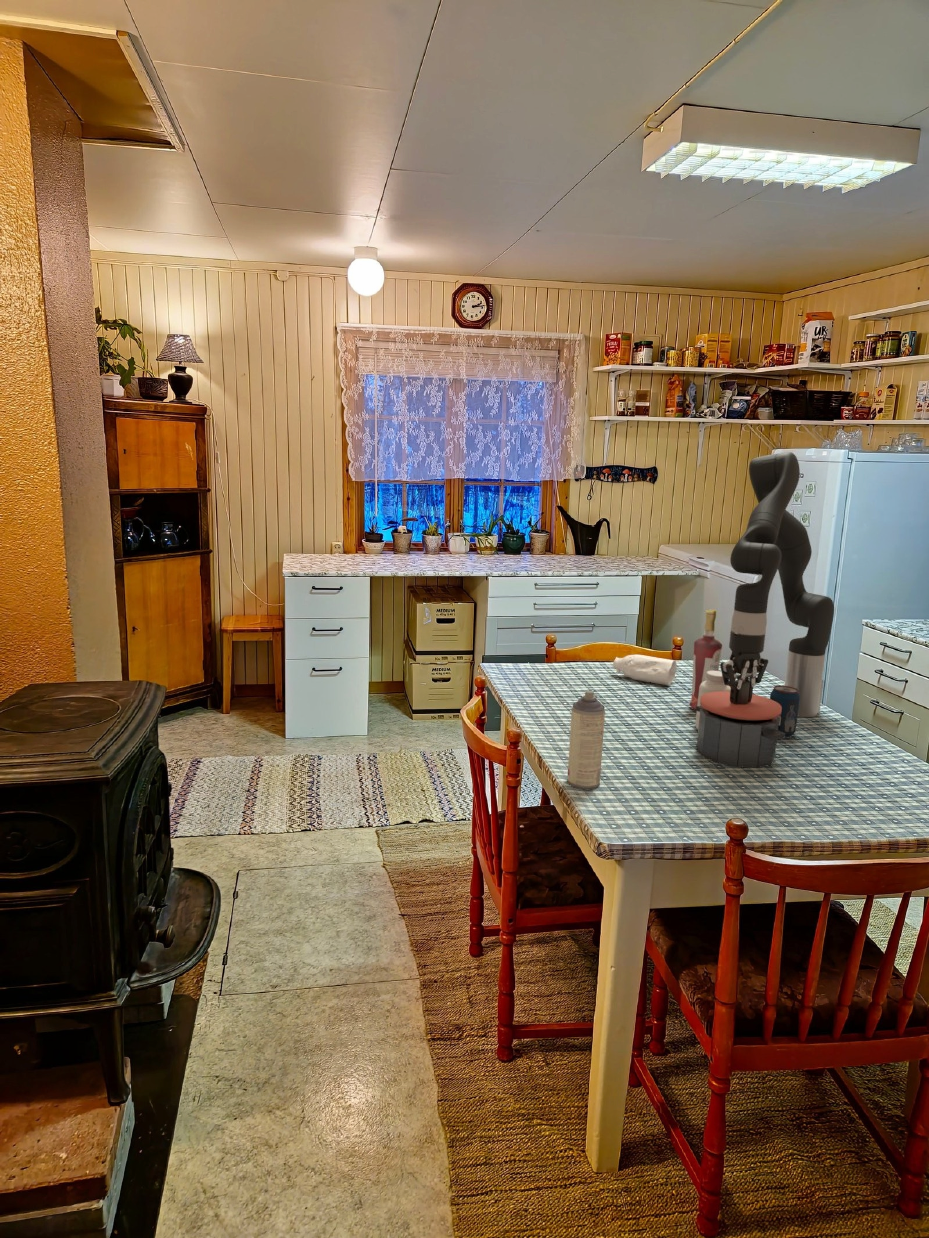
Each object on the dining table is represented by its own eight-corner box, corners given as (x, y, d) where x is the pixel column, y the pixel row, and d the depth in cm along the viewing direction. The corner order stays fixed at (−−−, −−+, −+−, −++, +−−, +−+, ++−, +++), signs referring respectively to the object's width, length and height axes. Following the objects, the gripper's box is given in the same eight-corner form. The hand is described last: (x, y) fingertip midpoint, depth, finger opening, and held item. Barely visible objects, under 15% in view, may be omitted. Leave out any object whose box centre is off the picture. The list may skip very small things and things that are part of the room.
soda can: (773, 727, 210) (778, 683, 208) (799, 734, 205) (805, 689, 203) (761, 733, 205) (766, 687, 203) (787, 740, 200) (793, 694, 198)
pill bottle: (729, 736, 202) (735, 678, 199) (696, 733, 204) (701, 675, 201) (725, 726, 210) (731, 670, 207) (693, 723, 211) (699, 667, 208)
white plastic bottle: (618, 673, 259) (620, 648, 257) (676, 683, 249) (678, 658, 247) (609, 678, 252) (611, 653, 251) (668, 688, 242) (670, 663, 241)
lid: (736, 696, 200) (739, 668, 199) (797, 717, 185) (801, 687, 183) (683, 705, 191) (685, 676, 190) (743, 728, 176) (746, 697, 175)
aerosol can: (595, 776, 174) (601, 687, 170) (603, 789, 167) (610, 696, 163) (563, 776, 173) (569, 686, 169) (571, 789, 166) (577, 696, 162)
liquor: (705, 715, 218) (716, 614, 212) (682, 709, 223) (691, 609, 217) (720, 711, 222) (730, 611, 217) (697, 704, 228) (707, 606, 222)
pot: (723, 733, 204) (727, 695, 202) (800, 764, 185) (805, 723, 183) (673, 743, 196) (677, 703, 194) (748, 777, 176) (753, 733, 174)
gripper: (756, 624, 191) (748, 694, 194) (713, 629, 184) (706, 701, 187) (782, 631, 184) (774, 703, 188) (739, 636, 178) (731, 711, 181)
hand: (740, 702), depth 188 cm, fingers closed on lid, 3 cm apart
